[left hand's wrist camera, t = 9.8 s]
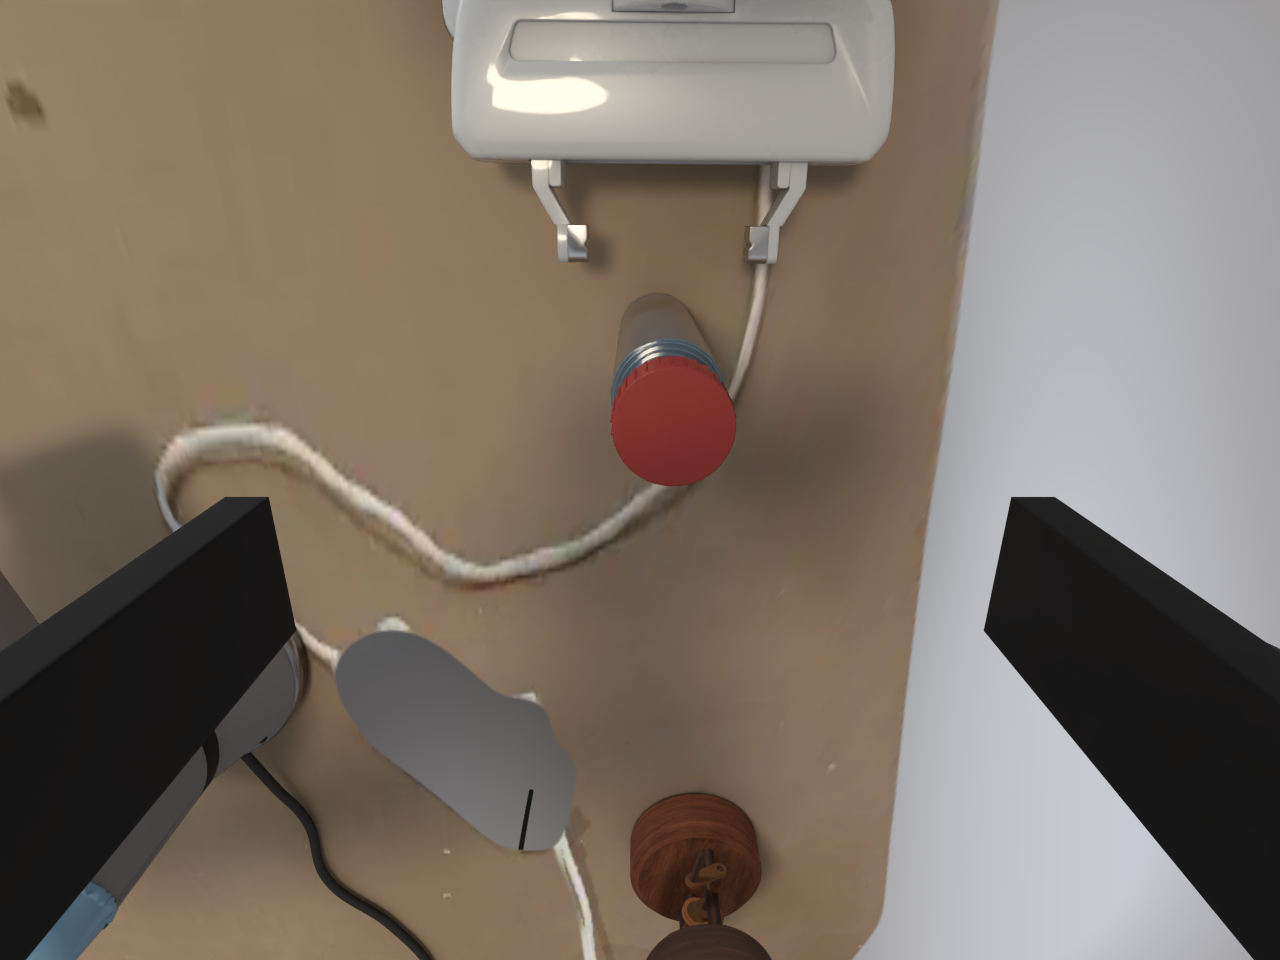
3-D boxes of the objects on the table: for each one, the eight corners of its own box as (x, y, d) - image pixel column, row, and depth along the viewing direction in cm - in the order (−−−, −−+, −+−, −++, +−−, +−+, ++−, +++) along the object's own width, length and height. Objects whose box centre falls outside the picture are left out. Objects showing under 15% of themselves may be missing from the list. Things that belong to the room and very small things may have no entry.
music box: (750, 904, 61) (773, 1207, 42) (625, 888, 62) (593, 1180, 43) (777, 767, 56) (816, 1047, 37) (639, 751, 56) (609, 1018, 37)
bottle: (652, 277, 42) (665, 330, 23) (709, 326, 43) (767, 416, 24) (604, 336, 44) (579, 434, 24) (661, 382, 45) (680, 511, 25)
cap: (664, 329, 25) (666, 338, 23) (755, 405, 26) (764, 420, 24) (588, 421, 26) (584, 436, 24) (677, 491, 27) (680, 511, 25)
